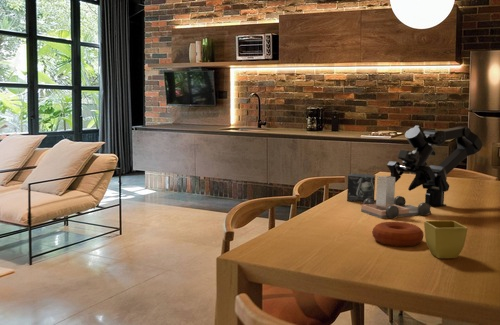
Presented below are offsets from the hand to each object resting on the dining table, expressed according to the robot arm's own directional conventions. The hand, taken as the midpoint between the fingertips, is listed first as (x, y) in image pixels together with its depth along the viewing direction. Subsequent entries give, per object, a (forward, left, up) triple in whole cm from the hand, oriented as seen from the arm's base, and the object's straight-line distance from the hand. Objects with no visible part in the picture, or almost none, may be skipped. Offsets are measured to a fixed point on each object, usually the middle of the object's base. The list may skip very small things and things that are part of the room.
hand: (399, 188), depth 210 cm
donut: (+27, +34, -9) cm, 44 cm away
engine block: (+7, +1, -8) cm, 11 cm away
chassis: (+2, +1, -9) cm, 9 cm away
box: (+1, -22, -9) cm, 24 cm away
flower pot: (+25, +51, -9) cm, 57 cm away
